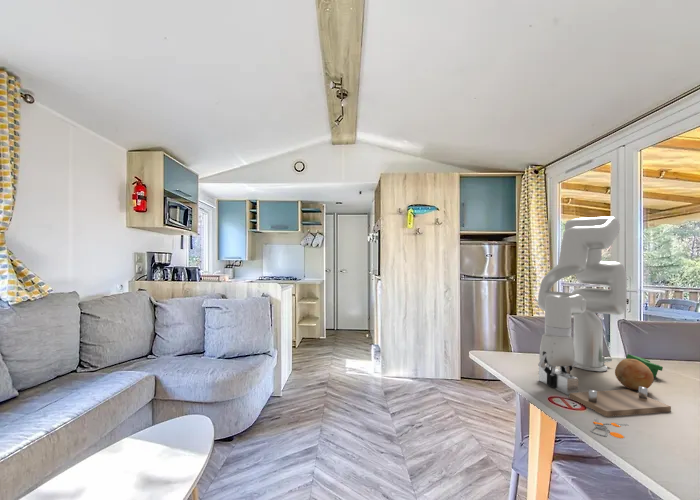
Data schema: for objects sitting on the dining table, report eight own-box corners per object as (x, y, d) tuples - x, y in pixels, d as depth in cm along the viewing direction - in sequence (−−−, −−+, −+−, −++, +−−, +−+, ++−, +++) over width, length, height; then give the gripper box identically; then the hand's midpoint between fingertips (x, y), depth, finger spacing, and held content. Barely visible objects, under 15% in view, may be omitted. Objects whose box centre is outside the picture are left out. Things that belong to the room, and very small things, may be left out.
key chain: (622, 444, 77) (622, 440, 77) (585, 431, 82) (585, 428, 82) (631, 426, 85) (631, 423, 86) (596, 416, 91) (596, 412, 91)
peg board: (628, 393, 106) (628, 379, 106) (670, 411, 94) (670, 395, 94) (569, 397, 101) (569, 383, 102) (606, 416, 90) (606, 400, 90)
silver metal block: (548, 379, 116) (548, 365, 116) (577, 394, 104) (578, 378, 105) (538, 380, 116) (538, 366, 116) (567, 394, 104) (567, 378, 104)
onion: (661, 394, 106) (661, 363, 106) (638, 396, 104) (638, 364, 104) (629, 382, 116) (629, 354, 116) (607, 384, 113) (607, 355, 113)
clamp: (654, 389, 121) (667, 371, 117) (635, 383, 123) (648, 365, 119) (638, 367, 132) (650, 350, 128) (621, 362, 133) (633, 345, 129)
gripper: (569, 328, 115) (569, 380, 115) (527, 329, 112) (527, 383, 112) (588, 333, 108) (588, 389, 108) (544, 334, 105) (544, 392, 105)
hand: (557, 385), depth 110 cm, fingers closed on silver metal block, 4 cm apart
